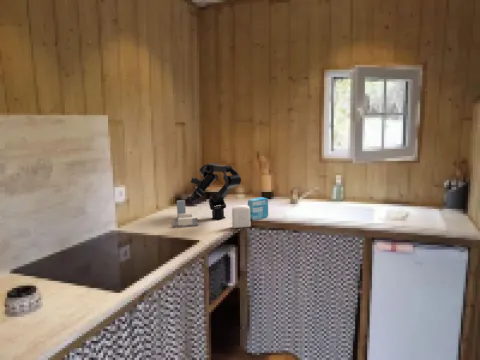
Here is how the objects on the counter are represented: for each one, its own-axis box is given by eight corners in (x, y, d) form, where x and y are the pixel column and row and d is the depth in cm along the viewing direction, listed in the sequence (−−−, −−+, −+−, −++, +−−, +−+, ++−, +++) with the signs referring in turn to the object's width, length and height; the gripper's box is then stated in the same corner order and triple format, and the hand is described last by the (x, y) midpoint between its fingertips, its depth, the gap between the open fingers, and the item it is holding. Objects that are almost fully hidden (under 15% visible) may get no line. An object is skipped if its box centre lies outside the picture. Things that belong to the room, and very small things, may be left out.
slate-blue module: (185, 216, 241) (184, 199, 239) (185, 218, 237) (184, 201, 235) (177, 217, 240) (176, 200, 239) (177, 219, 236) (176, 201, 234)
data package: (252, 220, 227) (251, 200, 225) (248, 219, 231) (247, 199, 229) (268, 217, 233) (268, 197, 231) (264, 215, 237) (263, 196, 235)
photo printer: (249, 225, 218) (249, 203, 216) (251, 227, 213) (250, 205, 212) (231, 226, 216) (231, 205, 214) (233, 228, 212) (232, 206, 210)
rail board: (197, 219, 234) (196, 212, 233) (197, 226, 219) (197, 218, 219) (174, 220, 232) (173, 213, 231) (173, 227, 217) (172, 220, 217)
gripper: (197, 170, 245) (181, 188, 245) (197, 174, 226) (180, 193, 227) (210, 182, 247) (194, 199, 247) (211, 186, 228) (194, 206, 229)
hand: (190, 199), depth 238 cm, fingers open, 9 cm apart
